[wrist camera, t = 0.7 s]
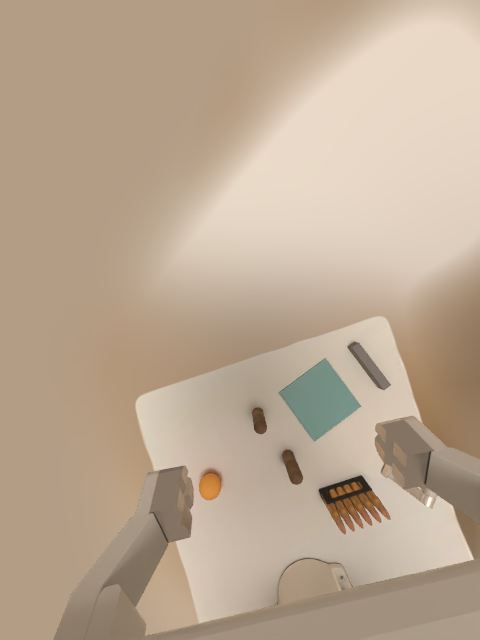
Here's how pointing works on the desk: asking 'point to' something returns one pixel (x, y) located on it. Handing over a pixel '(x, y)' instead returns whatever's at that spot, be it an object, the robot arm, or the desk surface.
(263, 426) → the post
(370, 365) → the wall
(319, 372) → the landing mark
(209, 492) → the ball
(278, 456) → the desk surface
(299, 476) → the post
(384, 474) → the portable electronic device stand
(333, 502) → the ammunition clip
